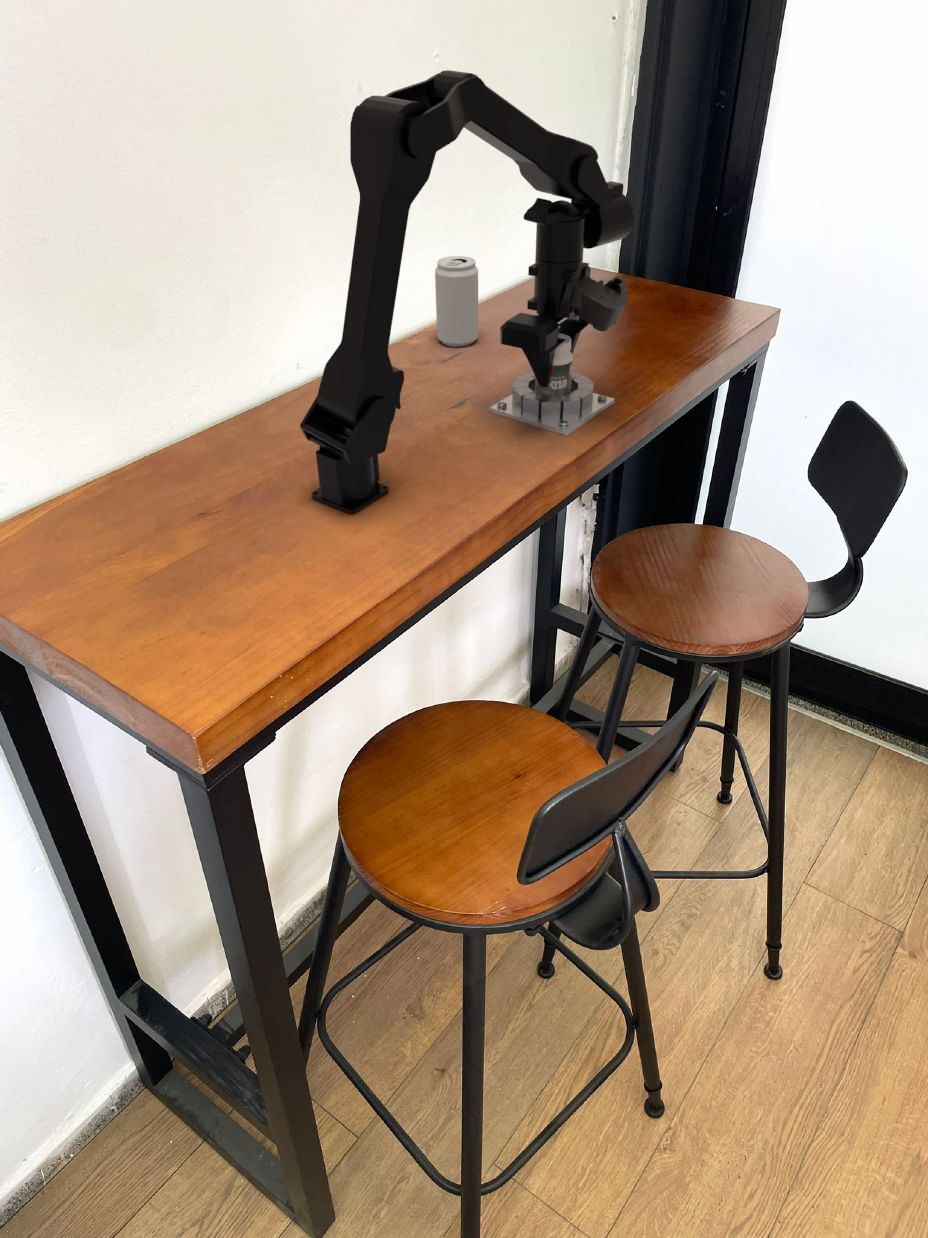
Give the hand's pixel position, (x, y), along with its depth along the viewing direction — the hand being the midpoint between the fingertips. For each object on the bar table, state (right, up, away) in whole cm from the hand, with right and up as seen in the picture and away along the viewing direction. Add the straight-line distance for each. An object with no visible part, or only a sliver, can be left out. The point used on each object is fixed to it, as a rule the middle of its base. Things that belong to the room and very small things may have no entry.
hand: (552, 379), depth 120 cm
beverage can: (-13, +12, +22) cm, 28 cm away
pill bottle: (0, -2, +2) cm, 3 cm away
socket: (0, -3, +2) cm, 4 cm away
